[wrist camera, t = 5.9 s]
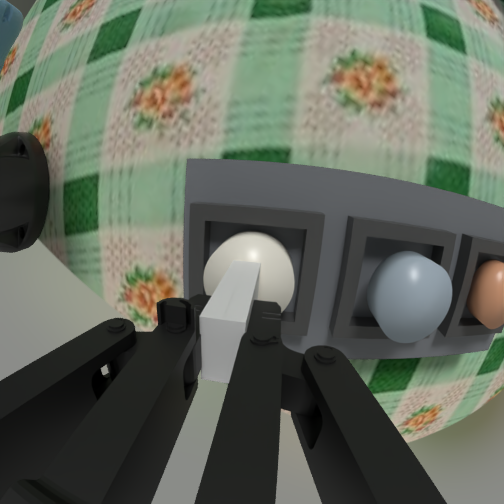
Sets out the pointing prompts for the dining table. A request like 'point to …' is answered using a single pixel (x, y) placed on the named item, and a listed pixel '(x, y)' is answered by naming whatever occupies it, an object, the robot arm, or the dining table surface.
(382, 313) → the slate button
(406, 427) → the dining table surface
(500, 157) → the dining table surface
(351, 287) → the console
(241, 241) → the ivory button
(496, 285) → the terracotta button
